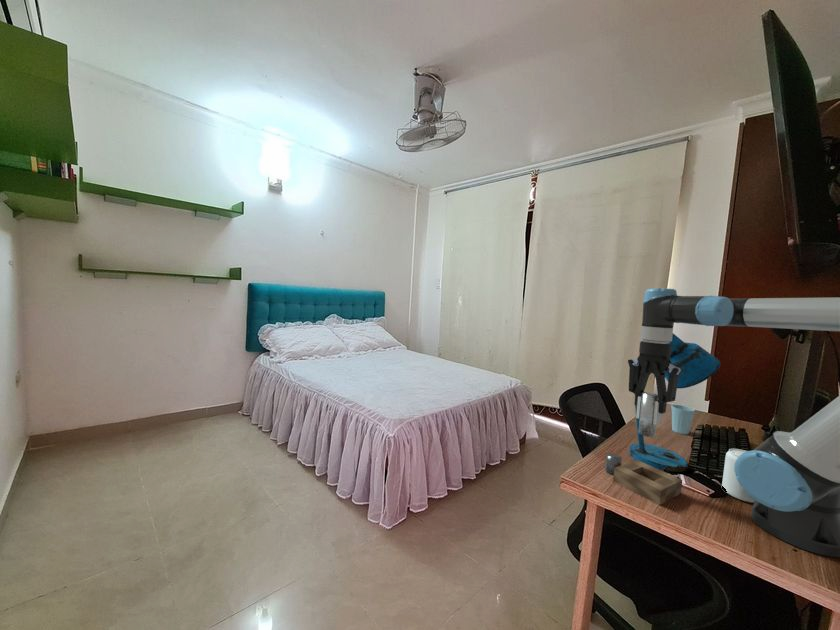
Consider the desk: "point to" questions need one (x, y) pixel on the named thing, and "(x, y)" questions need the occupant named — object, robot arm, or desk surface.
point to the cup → (681, 418)
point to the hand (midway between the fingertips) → (648, 420)
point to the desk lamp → (694, 371)
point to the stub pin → (612, 462)
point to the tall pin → (647, 414)
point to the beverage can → (734, 477)
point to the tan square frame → (648, 481)
